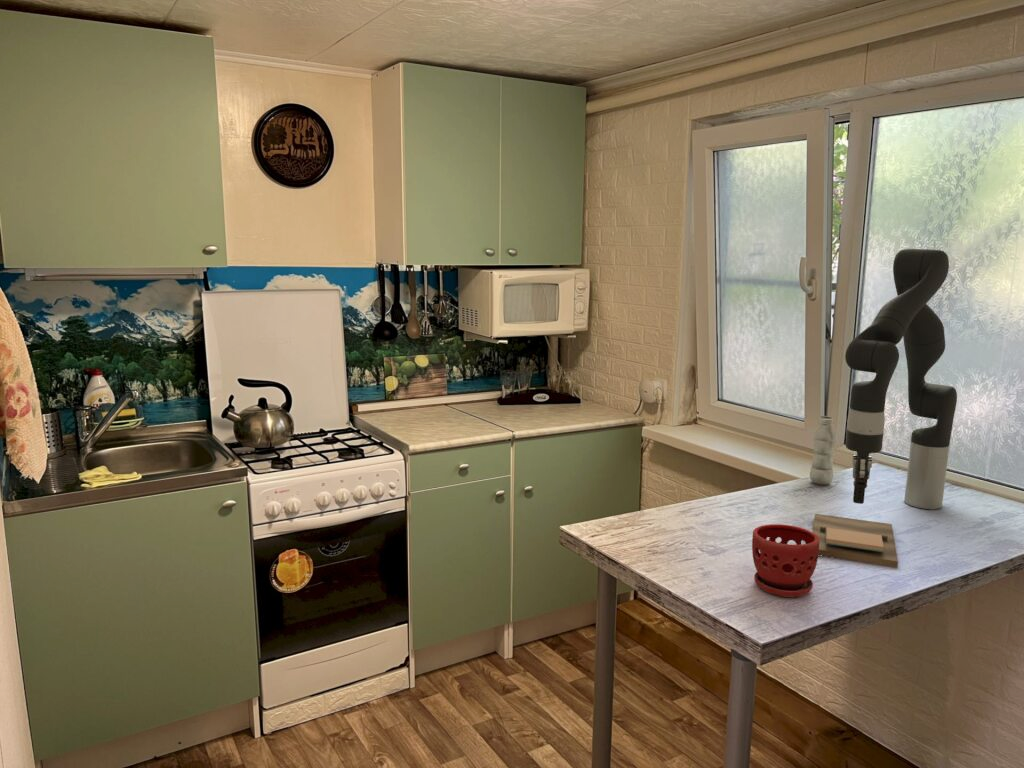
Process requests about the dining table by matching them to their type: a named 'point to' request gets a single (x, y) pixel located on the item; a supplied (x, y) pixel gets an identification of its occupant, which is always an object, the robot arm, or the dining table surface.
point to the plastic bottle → (823, 452)
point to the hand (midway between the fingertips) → (858, 502)
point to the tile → (854, 539)
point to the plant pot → (784, 559)
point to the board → (855, 554)
